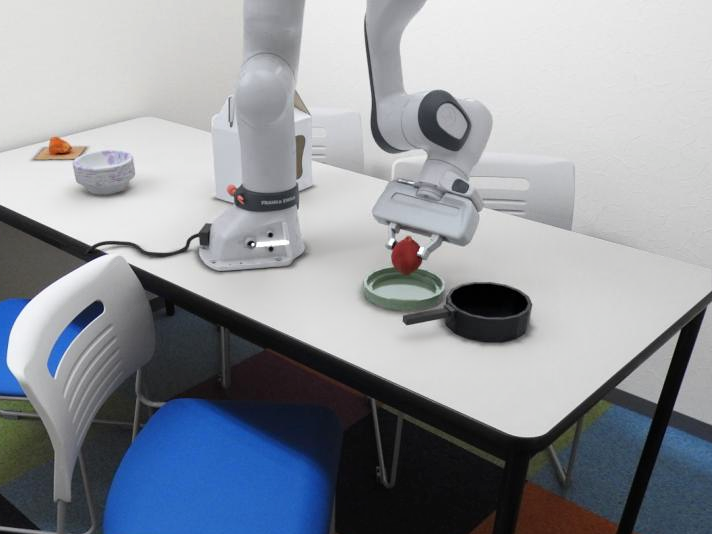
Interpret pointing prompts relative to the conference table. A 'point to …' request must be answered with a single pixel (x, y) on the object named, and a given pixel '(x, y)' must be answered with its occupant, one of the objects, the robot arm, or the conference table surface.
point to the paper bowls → (104, 171)
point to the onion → (406, 256)
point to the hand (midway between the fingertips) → (405, 253)
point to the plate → (404, 288)
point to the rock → (59, 150)
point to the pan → (481, 312)
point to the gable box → (230, 149)
